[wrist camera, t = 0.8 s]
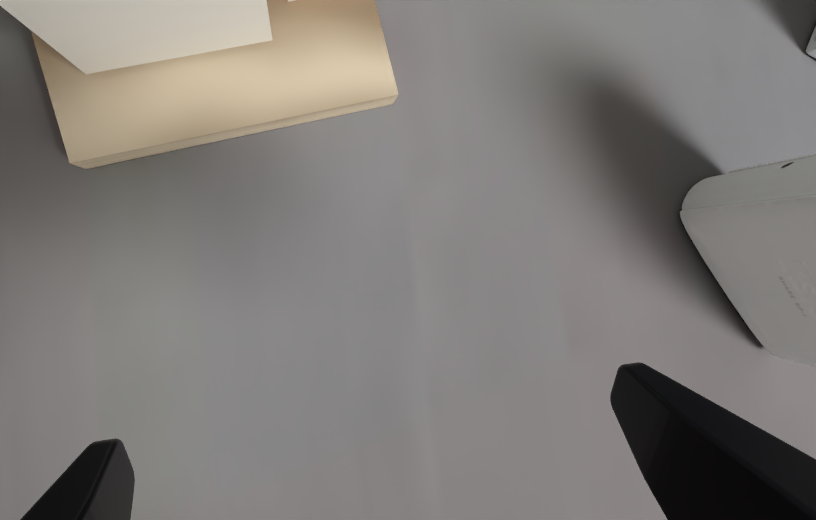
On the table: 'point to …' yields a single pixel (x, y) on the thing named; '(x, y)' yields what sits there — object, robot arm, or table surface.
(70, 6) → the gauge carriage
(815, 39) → the light bulb box
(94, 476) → the robot arm
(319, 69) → the base
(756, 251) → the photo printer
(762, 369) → the table surface
